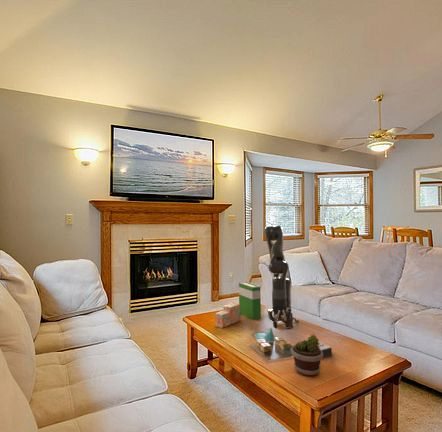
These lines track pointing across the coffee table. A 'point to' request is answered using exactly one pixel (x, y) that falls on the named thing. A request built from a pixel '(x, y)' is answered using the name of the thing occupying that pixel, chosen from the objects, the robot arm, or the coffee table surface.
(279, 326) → the tan cross-marked cube
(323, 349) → the calculator
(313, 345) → the flowerpot
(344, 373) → the coffee table surface
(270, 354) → the letter board
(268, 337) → the diorama
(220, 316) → the stack of blocks
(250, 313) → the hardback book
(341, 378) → the coffee table surface
